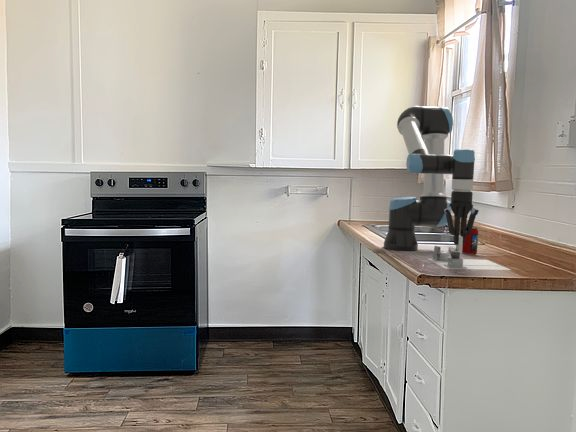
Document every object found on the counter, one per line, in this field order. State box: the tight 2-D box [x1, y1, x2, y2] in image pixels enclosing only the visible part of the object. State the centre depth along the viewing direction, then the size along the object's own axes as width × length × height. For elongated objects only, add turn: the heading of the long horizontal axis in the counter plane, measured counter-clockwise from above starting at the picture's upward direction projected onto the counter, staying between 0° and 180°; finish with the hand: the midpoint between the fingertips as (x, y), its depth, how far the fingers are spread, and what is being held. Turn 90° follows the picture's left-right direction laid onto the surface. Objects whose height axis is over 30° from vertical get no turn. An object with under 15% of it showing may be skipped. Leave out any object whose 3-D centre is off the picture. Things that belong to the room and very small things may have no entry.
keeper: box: [432, 245, 450, 261], centre depth 195 cm, size 4×5×5 cm
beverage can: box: [462, 225, 479, 255], centre depth 216 cm, size 7×7×12 cm
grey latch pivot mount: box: [444, 256, 467, 270], centre depth 182 cm, size 6×6×3 cm
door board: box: [428, 258, 511, 271], centre depth 188 cm, size 20×24×1 cm
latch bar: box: [447, 246, 461, 258], centre depth 188 cm, size 16×3×2 cm, turn 168°
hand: (458, 253), depth 190 cm, fingers closed
